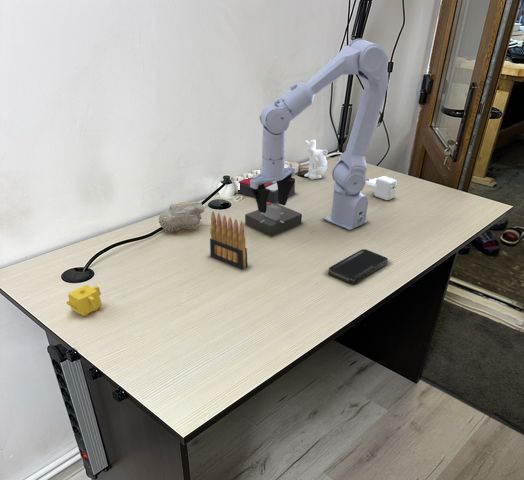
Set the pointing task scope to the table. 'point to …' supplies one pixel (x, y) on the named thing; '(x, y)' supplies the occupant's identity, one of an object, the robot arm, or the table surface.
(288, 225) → the panel
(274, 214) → the knob
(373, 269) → the phone
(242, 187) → the red and grey box
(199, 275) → the table surface
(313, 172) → the white animal figurine
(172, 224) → the fossil replica
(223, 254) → the ammunition clip
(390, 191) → the power adapter
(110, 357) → the table surface
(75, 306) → the yellow knobbed block
